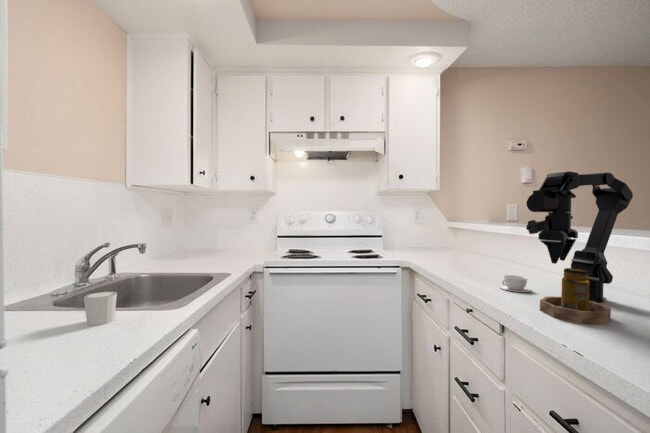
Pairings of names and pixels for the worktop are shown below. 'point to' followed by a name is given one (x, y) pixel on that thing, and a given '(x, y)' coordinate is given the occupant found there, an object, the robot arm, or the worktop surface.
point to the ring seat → (576, 312)
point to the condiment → (575, 289)
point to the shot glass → (100, 308)
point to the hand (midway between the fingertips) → (558, 261)
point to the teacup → (515, 283)
